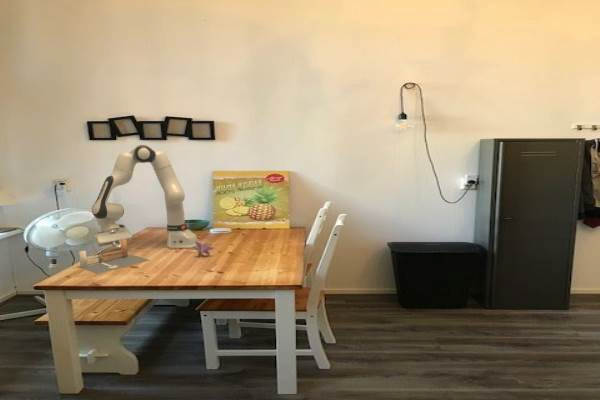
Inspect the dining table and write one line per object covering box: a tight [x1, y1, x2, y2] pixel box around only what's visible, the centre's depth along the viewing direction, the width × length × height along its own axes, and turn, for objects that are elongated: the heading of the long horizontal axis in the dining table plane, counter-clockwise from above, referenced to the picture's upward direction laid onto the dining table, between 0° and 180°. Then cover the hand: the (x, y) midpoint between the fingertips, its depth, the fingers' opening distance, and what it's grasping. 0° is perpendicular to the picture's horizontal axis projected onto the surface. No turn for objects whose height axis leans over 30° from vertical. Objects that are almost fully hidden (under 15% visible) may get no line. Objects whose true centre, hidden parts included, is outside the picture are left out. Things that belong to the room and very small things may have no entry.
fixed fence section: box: [78, 250, 103, 269], centre depth 209 cm, size 3×12×8 cm, turn 143°
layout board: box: [78, 253, 150, 275], centre depth 212 cm, size 22×30×1 cm
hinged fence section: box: [101, 239, 129, 261], centre depth 220 cm, size 3×14×10 cm, turn 143°
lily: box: [191, 240, 215, 259], centre depth 223 cm, size 12×12×10 cm
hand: (119, 248), depth 228 cm, fingers closed
